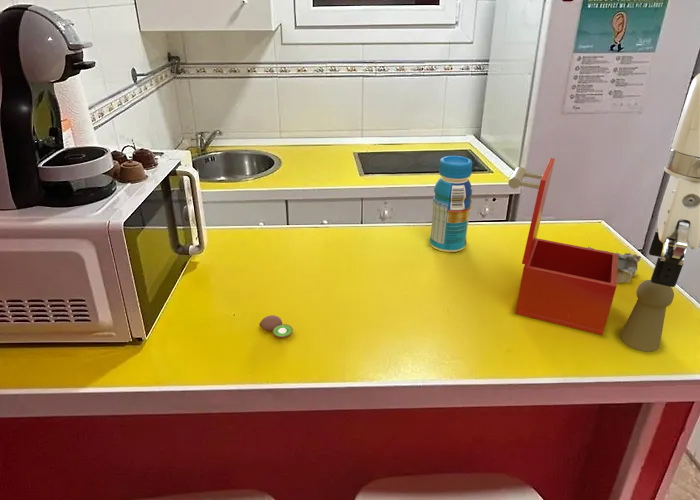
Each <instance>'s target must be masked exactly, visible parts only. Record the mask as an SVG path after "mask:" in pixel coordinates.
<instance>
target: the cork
mask: <svg viewBox="0 0 700 500" xmlns="http://www.w3.org/2000/svg"><path fill="white" fill-rule="evenodd" d="M635 295H636V297H637V300H636V302H635V304H634V306H633V307H632V310H631V312H630V313H629V316H628V318H627V320H626V321H625V324H624V325H623V328H622V330H621V332H620V334H619V337H620V340H621V341H622V342H623V343H624V344H625V345H626V346H628V347H630V348H632V349H634V350H637V351H640V352H647V353H648V352H651V353H652V352H655V351H658V350H659V349H660V347H661V341H662V336H663V330H664V323H665V318H666V311H667V307H669V306H671V304H672V303H673V301H674V297H675V292H674V289H673V287H669V286H665V285H660V284H655V283H652V282H651V279H645V280H643V281H642V282H640V283H639V284H638V286H637V288H636V293H635Z"/></svg>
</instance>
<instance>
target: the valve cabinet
mask: <svg viewBox="0 0 700 500" xmlns="http://www.w3.org/2000/svg"><path fill="white" fill-rule="evenodd" d="M591 248H592V247H591ZM591 248H588V247H585V246H579V245H574V244H569V243H563V242H559V241H553V240H548V239H544V238H543V239H542V238H538V237H536V240H535V243H534V246H533V248H532V251H531V254H530V257H529V259H528V262H527V265H525V264H523V269H522V275H521V279H520V284H519V290H518V296H517V301H516V307H515V312H514V315H519V316H523V317H527V318H531V319H535V320H539V321H543V322H547V323H551V324H555V325H559V326H563V327H567V328H571V329H575V330H579V331H584V332H588V333H592V334H594V335H595V334H596V335H600V336H603V335H604V331H605V328H606V325H607V323H608V322H607V321H608V318H609V314H610V312H611V307H612V303H613V300H614V297H615V293H616V290H617V285H618V284H617V283H618V282H617V264H618V254H617V253H618V252H611V251H608V250H603V251H601V250H602V249H595V248H594V249H591ZM607 251H608V252H607Z"/></svg>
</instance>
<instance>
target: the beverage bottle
mask: <svg viewBox="0 0 700 500" xmlns="http://www.w3.org/2000/svg"><path fill="white" fill-rule="evenodd" d="M472 171H473V160H471V159H470V158H468V157H466V156H460V155H447V156H443V157H441V158H440V161H439V168H438V173H439V176H440V177H439V178H438V180H437V181H436V183H435V184H434V188H433V192H434V195H433V198H432V201H431V205H432V216H431V228H430V236H429V244H430V246H431V247H432V248H433V249H435V250H437V251H440V252H444V253H457V252H460V251H463V250H464V249H465V248H466V246H467V235H468V226H469V218H470V211H471V209H472V205H473V201H472V197H471V196H472V195H473V192H474V191H473V186H472V184H471V181H470V180H469V179H470V177H471V176H472Z"/></svg>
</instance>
